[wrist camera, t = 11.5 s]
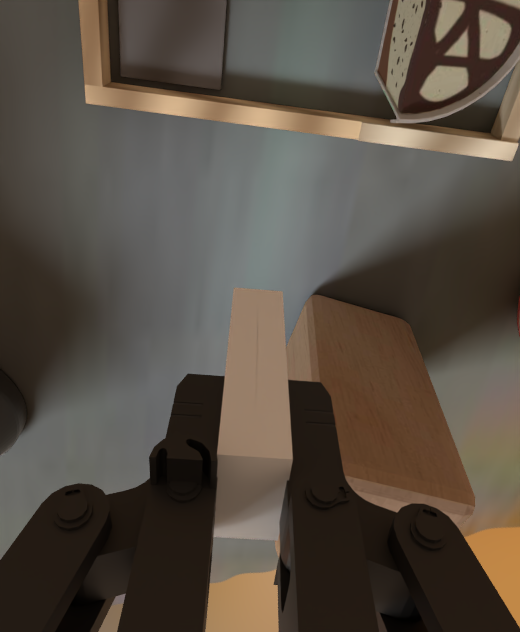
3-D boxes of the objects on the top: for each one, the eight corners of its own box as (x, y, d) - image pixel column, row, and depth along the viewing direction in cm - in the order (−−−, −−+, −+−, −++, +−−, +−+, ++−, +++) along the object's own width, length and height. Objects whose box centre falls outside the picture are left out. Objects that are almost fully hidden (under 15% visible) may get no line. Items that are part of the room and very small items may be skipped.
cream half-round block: (454, 106, 35) (508, 144, 27) (369, 96, 35) (396, 131, 27) (523, -122, 28) (624, -165, 20) (418, -136, 28) (475, -186, 20)
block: (309, 287, 44) (326, 471, 27) (411, 317, 45) (487, 509, 29) (273, 369, 49) (270, 565, 33) (366, 394, 51) (408, 593, 34)
